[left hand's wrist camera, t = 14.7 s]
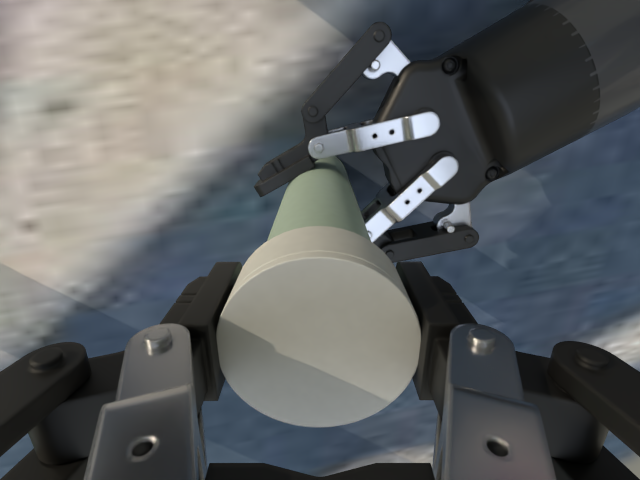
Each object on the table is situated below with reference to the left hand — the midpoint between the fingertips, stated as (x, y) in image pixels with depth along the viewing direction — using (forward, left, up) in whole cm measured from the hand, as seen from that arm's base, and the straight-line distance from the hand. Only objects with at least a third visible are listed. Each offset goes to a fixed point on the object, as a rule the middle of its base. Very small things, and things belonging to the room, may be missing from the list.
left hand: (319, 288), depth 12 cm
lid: (0, 0, +3) cm, 3 cm away
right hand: (0, -3, -11) cm, 11 cm away
